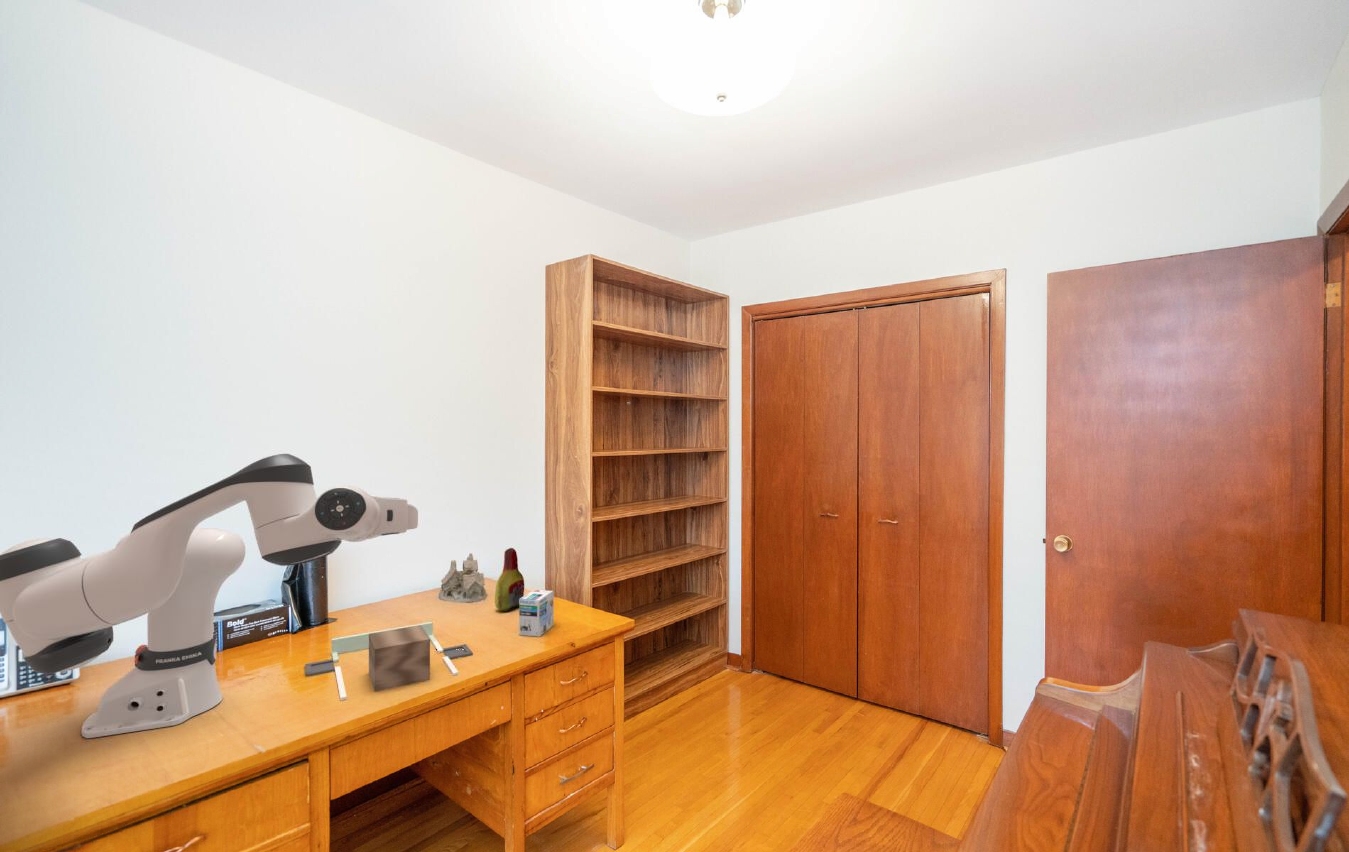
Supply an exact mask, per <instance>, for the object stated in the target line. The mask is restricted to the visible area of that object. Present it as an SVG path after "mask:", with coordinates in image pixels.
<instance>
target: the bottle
mask: <svg viewBox="0 0 1349 852" xmlns="http://www.w3.org/2000/svg"><path fill="white" fill-rule="evenodd" d="M518 562H519V561H518V554H517V550H516V549H515V548H513V547H509V548H508V549H505V550H504V557H503V568H502V572H501V574H500V576H499V577H498V580H497V582H496V583H495V591H494V592H495V593H494V605H495V607H496V609H498V611H500V612H509V611H512V610H514V609H517V608H519V599H520V598H522V597H523V596H525V593H524V592H525V578H524V576H523V573H521V572H520V571H519V565H518V564H519V563H518Z"/></svg>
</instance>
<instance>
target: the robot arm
mask: <svg viewBox="0 0 1349 852" xmlns="http://www.w3.org/2000/svg"><path fill="white" fill-rule="evenodd" d="M244 501H245V503H246V506H247V509H248V512H249V516H250V520H251V523H252V527H253V533H254V537H255V540H256V544H257V546H258V550H259V553H260V556H261V559H263V560H264V561H265V562H268V563H270V564H273V565H275V566H276V565H277V566H280V567H286V566H294V565H295V566H297V565H301V564H305V563H311V562H313V561H316V560H320V559H322V558H324V557H327V556H329V555H331V554H333V553H334V552H335V551H336V550H337V549H338V548H339V547H340V545H341V544H342V541H346V542H350V543H358V542H360V543H361V542H364V541H366V540H372V539H375V538H378V537H381V536H382V537H383V536H389V535H399V534H404V533H407V531H409V530H415V529H417V528H418V525H419V510H418V509H417V507H416V506H414V505H413V504H409V503H408V500H407V498H399V497H398V498H397V497H382V496H377V495H373V494H369V493H368V492H367V491H365V490H363V489H362V488H360V487H356V486H351V485H340V486H339V485H337V486H334V487H331V488H328V489H326V490H324V492H322V493H321V494H320V495H319V496H318V497H317V493H316V491H315V488H314V479H313V473H312V468H311V465H309V464H308V463H307V462H305V461H304V460H302V459H300V458H299V457H297V456H295V455H292V454H290V453H278V454H273V455H269V456H266V457H263V458H260V459H259V460H257V461H254V462H252V463H250V464H247V466H245V467H244V468H241V469H240V470H238V471H237V472H235V473H233V474H231V475H229V476H227V477H225V478H223V479H221V480H219V481H217V482H215V483H213V484H211V485H209V486H207V487H204V488H202V489H200V490H198V491H196V492H194V493H191V494H189V495H187V496H184V497H183V498H179V500H176V501H174V502H172V503H170V504H168V505H166V506H164V507H162V508H160V509H157V510H155V511H154V512H152V513H150V514H148V515H146V516H145V517H143V518H142V519H140V520H139V521H138V522H136V523H134V524H133V526H132V529H131V531H130V533H128V534H126V535H124V536H123V537H122V538H120V540H119V541H117V544H116V545H115V547H114V548H112V549H110V550H109V549H108V550H107V551H103V552H100V553H97V554H94V555H91V556H87V557H85V558H84V557H83V558H81V556H82V555H83V554H82V553H81V552H80V550H79V549H78V548H77V546H76V545H75V544H74V543H73V542H72V541H71V540H69V539H68V540H67V539H65V538H61V537H58V538H37V539H36V538H35V539H31V540H27V541H24V542H21V543H18V544H16V545H13V546H11V547H9V548H8V549H6V550H4V551H3V552H2V553H1V554H0V616H1V618H2V621H3V623H5V624H6V626H7V629H8V630H9V632H10V635H11V636H12V638H13V639H14V641H15V642H16V644H17V647H19V649H20V650H21V651H22V653H23V654H24V656H25V657H23V660H24V662H25V663H26V665H28V667H29V668H31V670H33V671H34V672H35V673H40V674H43V675H52V674H56V673H63V672H64V673H65V672H68V671H73V670H77V669H78V668H81V667H83V666H86V665H87V664H90V663H91V662H92V661H94V660H96V659H97V658H98V657H99V656H101V655H102V654H103V653H105V652H106V651H108V650H109V648H110V647H111V645H112V643H113V642H114V629H113V627H114V626H117V625H120V624H123V623H126V622H129V621H132V620H135V619H137V618H139V617H142V616H145V615H147V618H146V619H147V620H146V621H147V622H146V623H147V626H146V627H147V644H141V645H139V646H138V647H137V649H136V650H135V654H134V668H133V669H131V670H130V671H128V673H126V674H125V675H124V676H122V677H120V678H119V679H118V680H117V681H116V682H114V683H113V684H112V685H110V686H109V687H108V688H107V689H106V691H104V693H103V694H102V695H101V697H100V701H99V703H98V707H97V711H95V712H93V713H92V714H91V715H89V716H88V717H87V718H86V720H84V722H83V724H82V727H81V733H80V735H82V737H83V738H86V739H92V738H99V737H106V736H113V735H119V734H124V733H132V732H133V733H134V732H138V731H145V730H152V729H159V728H167V727H171V726H177V725H180V724H182V723H184V722H186V721H187V720H189V719H191V718H192V717H194V716H197V715H199V714H202V713H205V712H206V711H208V710H210V709H212V708H214V707H216V706H217V705H218V704H219V703H220V702H221V701H222V700H223V699H224V698H223V697H224V695H223V694H222V692H221V689H220V686H219V682H218V677H217V671H216V664H215V663H216V660H217V640H216V636H215V635H214V619H215V617H214V615H215V604H216V599H217V597H218V593H219V591H220V589H221V587H222V585H223V584H224V583H225V581H226V580H227V579H229V577H230V576H232V575H233V574H234V573H236V572H237V571H238V569H239V568H240V567H241V566H242V564H243V562H244V560H245V556H246V546H245V542H244V540H243V539H242V537H241V536H240V535H238V534H237V533H234V532H232V531H227V530H222V529H218V528H198V527H197V526H198V525H199V524H201V523H202V522H204V520H207V519H209V518H211V517H213V516H214V515H217V514H219V513H221V512H224V511H225V510H227V509H230V508H231V507H232V508H233V507H234V506H236V505H238V504H240V503H242V502H244Z"/></svg>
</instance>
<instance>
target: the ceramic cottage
mask: <svg viewBox="0 0 1349 852" xmlns="http://www.w3.org/2000/svg"><path fill="white" fill-rule="evenodd" d="M478 564H479V563H478V559H474V556H473V553H471V552H469V554H468V556H467V558H466V560H462V570H457V560H454V559H453V560H451V561H450V568H449V570H448V571H447V573H446V574H445V576H444V577H442V579H440V582H441V585H440V591H439V592H438V599H439V600H440V601H444V600H446V601H445V602H452V603H453V602H454V603H459V604H470V603H478V602H483V601H484V600H485V599H486V597H487V595H488V593H487V590H486V589H485V587H484V586H485V584H486V583H485V577H484V576H485V575H484V572H479V565H478ZM482 600H483V601H482Z"/></svg>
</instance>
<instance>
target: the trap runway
mask: <svg viewBox="0 0 1349 852" xmlns="http://www.w3.org/2000/svg"><path fill="white" fill-rule="evenodd" d="M417 625H421V626H422V628H423V629H424V631H425V632H426V634H427V635H428V637H429V638H430V640H431V641H430V643H431V644H432V645H433V648H434V649H435V650H436V649H437V650H436V652H437V653H438V654H441V653H440V652H442V653H443V652H444V653H443V654H444V656H443V657H442V661H443V662H444V664H445V665H446V667H447V666H448V667H447V668H448V670H449V672H450V674H453V675H452V676H458V675H459V671H458V669H457V668H456V667H455V665H454V664H453V662H452V660H455V658H456V659H459V658H458V657H461V658H465V657H469V655H470V656H473V653H474V652H473V651H472V650H471V649H470V647H469V646H468V645H467V644H466V643H465V644H460V645H455V646H449V647H444V648H443V647H442V646H441V644H440V643H439V642H438V639H436V638H435V636H434V632H433V631H434V624H433V622H432V621H428V622H423V623H416V624H411V625H406V626H400V627H394V628H392V627H391V628H388V629H382V630H376V631H370V632H364V633H359V634H352V635H351V634H350V635H346V636H342V637H341V636H340V637H336V638H331V657H332V658H331V659H325V660H320V661H313V662H309V663H305V664H304V667H305V669H304V671H305V677H306V676H308V677H312V676H317V675H318V676H319V675H323V674H329V673H333V672H335V678H336V683H337V690H338V695H339V700H340V701H345V700H347V693H346V692H347V691H346V687H345V683H344V679H343V678H344V677H343V673H342V669H341V666H340V665H339V666H335V663H339V660H340V659H339V655H341V654H346V653H350V652H351V653H352V652H356V651H362V650H369V634H370V633H376V632H382V631H388V630H394V629H400V628H405V627H411V626H417ZM456 649H457V650H456ZM458 649H459V650H458ZM462 649H464V650H462ZM445 655H446V656H445ZM450 659H451V660H450ZM332 671H333V672H332Z"/></svg>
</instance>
